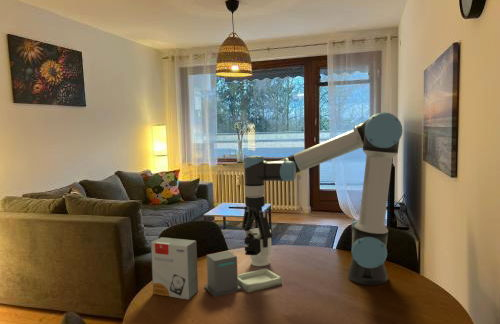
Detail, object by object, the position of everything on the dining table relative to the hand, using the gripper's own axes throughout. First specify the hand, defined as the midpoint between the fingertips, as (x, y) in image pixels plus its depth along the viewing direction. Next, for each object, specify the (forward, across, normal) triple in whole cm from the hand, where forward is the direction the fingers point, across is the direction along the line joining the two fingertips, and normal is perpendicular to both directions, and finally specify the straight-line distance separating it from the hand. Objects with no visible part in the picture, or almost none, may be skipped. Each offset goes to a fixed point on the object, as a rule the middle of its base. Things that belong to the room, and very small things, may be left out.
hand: (256, 250), depth 146 cm
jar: (+13, +18, -12) cm, 25 cm away
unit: (+13, +2, +14) cm, 19 cm away
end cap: (+1, 0, 0) cm, 1 cm away
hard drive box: (+13, +8, +30) cm, 34 cm away
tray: (+13, 0, 0) cm, 13 cm away
